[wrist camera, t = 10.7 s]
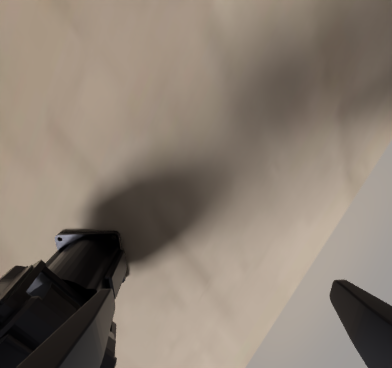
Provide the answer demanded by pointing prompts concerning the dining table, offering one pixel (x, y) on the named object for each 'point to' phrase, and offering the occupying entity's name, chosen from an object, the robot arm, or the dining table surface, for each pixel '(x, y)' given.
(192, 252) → the dining table surface
